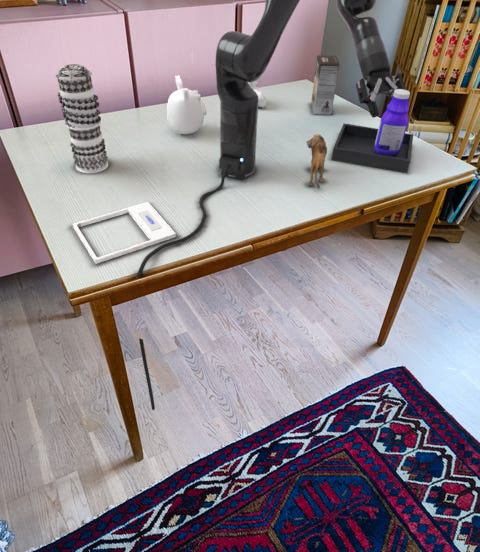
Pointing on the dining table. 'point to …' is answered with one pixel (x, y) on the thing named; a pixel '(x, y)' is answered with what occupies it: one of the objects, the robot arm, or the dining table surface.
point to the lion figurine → (317, 157)
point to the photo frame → (147, 222)
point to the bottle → (393, 125)
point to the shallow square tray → (369, 149)
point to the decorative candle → (82, 118)
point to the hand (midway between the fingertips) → (388, 114)
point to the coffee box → (324, 84)
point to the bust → (258, 93)
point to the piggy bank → (185, 109)
